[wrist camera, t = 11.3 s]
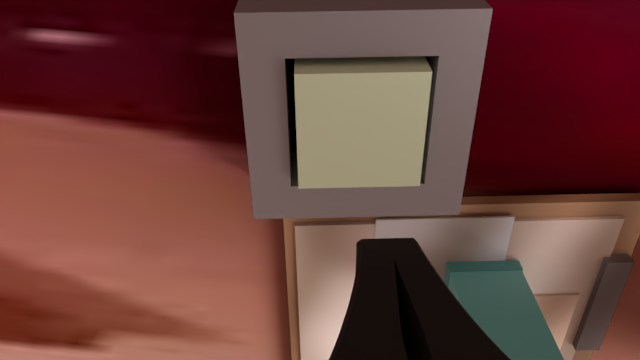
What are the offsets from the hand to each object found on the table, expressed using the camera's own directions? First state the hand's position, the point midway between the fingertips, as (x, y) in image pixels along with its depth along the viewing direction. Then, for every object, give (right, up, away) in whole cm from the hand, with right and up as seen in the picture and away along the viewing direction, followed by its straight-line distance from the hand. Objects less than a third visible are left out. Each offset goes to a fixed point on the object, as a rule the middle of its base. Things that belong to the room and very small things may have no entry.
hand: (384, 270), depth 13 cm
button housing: (0, +6, +8) cm, 10 cm away
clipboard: (+5, -4, +14) cm, 16 cm away
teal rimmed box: (+6, -3, +13) cm, 14 cm away
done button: (0, +5, +8) cm, 9 cm away
